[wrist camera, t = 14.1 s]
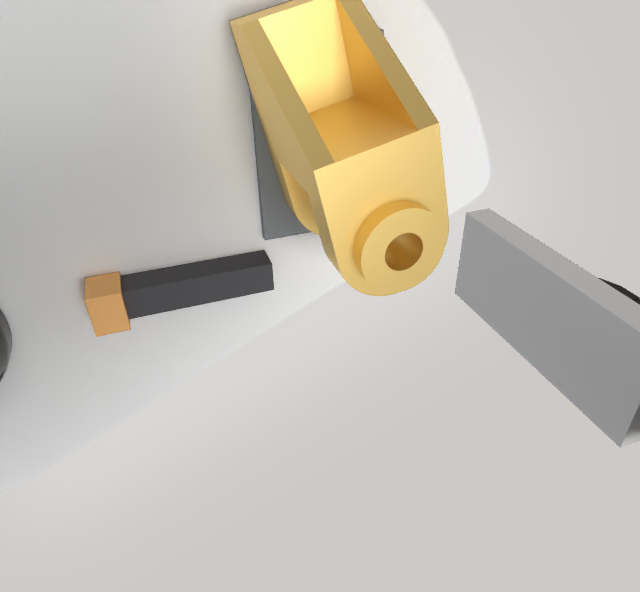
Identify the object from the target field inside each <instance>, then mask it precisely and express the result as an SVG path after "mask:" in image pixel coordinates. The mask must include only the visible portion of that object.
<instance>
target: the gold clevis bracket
mask: <svg viewBox="0 0 640 592" xmlns="http://www.w3.org/2000/svg"><path fill="white" fill-rule="evenodd" d="M229 22H230V25H231V28H232V32H233V35H234V38H235V41H236V45H237V48H238V51H239V54H240V57H241V61H242V64H243V67H244V70H245V74H246V77H247V80H248V83H249V86H250V90H251V93H252V96H253V99H254V103H255V106H256V109H257V112H258V115H259V119H260V122H261V125H262V128H263V131H264V135H265V138H266V141H267V144H268V148H269V151H270V154H271V157H272V160H273V164H274V167H275V170H276V173H277V177H278V180H279V183H280V186H281V189H282V193H283V196H284V199H285V201H286V203H287V205H288V206H289V208H290V209H291V210H292V212H293V213H294V214H295V215H296V217H297V218H298V219H299V221H300V222H301V223H302V224H303V225H304V226H305V227H306V228H307V229H308V230H310V231H311V232H313V233H315V234H318V235H320V237H321V241H322V245H323V248H324V251H325V253H326V255H327V257H328V258H329V260H330V261H331V262H332V264H333V265H334V266H335V267H336V269H337V270H338V271H339V273H340V274H341V275H342V277H343V278H344V279H345V281H346V282H347V283H348V284H349V285H350V286H351V287H353V288H354V289H355V290H357V291H359V292H361V293H364V294H367V295H372V296H386V295H392V294H395V293H399V292H401V291H405V290H408V289H410V288H412V287H414V286H416V285H418V284H419V283H420V282H422V281H423V280H425V279H426V278H427V277H428V276H429V275H430V274H431V273H432V272H433V270H434V269H435V268H436V266H437V265H438V263H439V261H440V259H441V257H442V254H443V251H444V248H445V245H446V242H447V238H448V232H449V218H448V208H447V198H446V188H445V178H444V168H443V158H442V148H441V138H440V128H439V122H438V120H437V119H436V117H435V116H434V114H433V113H432V111H431V109H430V108H429V106H428V105H427V103H426V101H425V100H424V98H423V97H422V95H421V94H420V92H419V90H418V89H417V87H416V86H415V84H414V83H413V81H412V79H411V78H410V76H409V75H408V73H407V72H406V70H405V68H404V67H403V65H402V64H401V62H400V61H399V59H398V57H397V56H396V54H395V53H394V51H393V50H392V48H391V46H390V45H389V43H388V42H387V40H386V39H385V37H384V35H383V34H382V32H381V31H380V29H379V28H378V26H377V24H376V23H375V21H374V20H373V18H372V16H371V15H370V13H369V12H368V10H367V9H366V7H365V5H364V4H363V2H362V1H361V0H292V1H289V2H286V3H283V4H280V5H277V6H274V7H271V8H268V9H265V10H262V11H259V12H256V13H253V14H250V15H247V16H244V17H241V18H238V19H235V20H232V21H229Z"/></svg>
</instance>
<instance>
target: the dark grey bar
mask: <svg viewBox="0 0 640 592" xmlns="http://www.w3.org/2000/svg"><path fill="white" fill-rule="evenodd" d="M270 290H274V283H273V270H272V263H271V261H270V259H269V258H268V256H267V254H266V252H265V251H264V250H261V251H256V252H250V253H245V254H239V255H234V256H228V257H223V258H217V259H212V260H206V261H201V262H195V263H190V264H184V265H179V266H173V267H168V268H162V269H157V270H151V271H146V272H140V273H135V274H129V275H124V276H120V273H119V272H114V273H108V274H103V275H97V276H92V277H86V278H85V296H84V301H85V304H86V307H87V310H88V313H89V316H90V319H91V322H92V325H93V328H94V332H95V335H96V337H97V336H102V335H107V334H112V333H116V332H121V331H126V330H131V328H130V319H132V318H137V317H142V316H147V315H152V314H157V313H162V312H167V311H172V310H176V309H181V308H186V307H191V306H196V305H201V304H206V303H211V302H216V301H221V300H226V299H230V298H235V297H240V296H245V295H250V294H255V293H260V292H265V291H270Z"/></svg>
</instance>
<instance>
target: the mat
mask: <svg viewBox="0 0 640 592" xmlns="http://www.w3.org/2000/svg"><path fill="white" fill-rule="evenodd" d="M380 31H381V32H382V34H383V35H384V30H383V29H380ZM250 96H251V108H252V119H253V130H254V141H255V152H256V164H257V175H258V186H259V197H260V209H261V220H262V231H263V238H264V239H265V240H269V239H274V238H280V237H286V236H291V235H297V234H303V233H308V232H311V231H310V230H308V229H307V228H306V227H305V226H304V225H303V224H302V223H301V222H300V221H299V219H298V218H297V217H296V215H295V214H294V213H293V212H292V210H291V209H290V208H289V206H288V205H287V203H286V201H285V199H284V196H283V193H282V189H281V186H280V183H279V180H278V177H277V173H276V170H275V167H274V164H273V160H272V157H271V154H270V151H269V148H268V144H267V141H266V138H265V135H264V131H263V128H262V125H261V122H260V119H259V115H258V112H257V109H256V106H255V103H254V99H253V96H252V93H251V90H250Z"/></svg>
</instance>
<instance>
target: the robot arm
mask: <svg viewBox="0 0 640 592" xmlns="http://www.w3.org/2000/svg"><path fill="white" fill-rule="evenodd" d="M455 293H456V294H457V295H458V296H459V297H460V298H461V299H462V300H463V301H464V302H465V303H466V304H467V305H468V306H469V307H471V308H472V309H473V310H474V311H475V312H476V313H477V314H478V315H479V316H480V317H481V318H482V319H483V320H484V321H485V322H487V323H488V324H489V325H490V326H491V327H492V328H493V329H494V330H495V331H496V332H497V333H498V334H499V335H500V336H502V337H503V338H504V339H505V340H506V341H507V342H508V343H509V344H510V345H511V346H512V347H513V348H514V349H516V350H517V352H519V353H520V354H521V355H522V356H523V357H524V358H525V359H526V360H527V361H528V362H529V363H531V365H532V366H534V367H535V368H536V369H537V370H538V371H539V372H540V373H541V374H542V375H543V376H544V377H545V378H546V379H547V380H548V381H550V382H551V383H552V384H553V385H554V386H555V387H556V388H557V389H558V390H559V391H560V392H561V393H562V394H563V395H565V396H566V397H567V398H568V399H569V400H570V401H571V402H572V403H573V404H574V405H575V406H576V407H577V408H579V410H581V411H582V412H583V413H584V414H585V415H586V416H587V417H588V418H589V419H590V420H591V421H592V422H593V423H594V424H595V425H597V426H598V427H599V428H600V429H601V430H602V431H603V432H604V433H605V434H606V435H607V436H608V437H609V438H610V439H611V440H613V441H614V442H615V443H616V444H617V445H618V446H619V447H623V446H626V445H629V444H632V443H635V442H637V441H640V298H639V297H638V296H636V295H634V294H633V293H631V292H630V291H628V290H626V289H625V288H623V287H621V286H619V285H616V284H614V283H611V282H609V281H606V280H603V279H600V278H597V277H595V276H594V275H592V274H591V273H589V272H588V271H586V270H584V269H583V268H581V267H580V266H578V265H577V264H575V263H573V262H572V261H570V260H569V259H567V258H565V257H564V256H563V255H561V254H559V253H558V252H556V251H554V250H553V249H552V248H550V247H548V246H547V245H545V244H543V243H542V242H541V241H539V240H537V239H536V238H534V237H533V236H531V235H529V234H528V233H526V232H525V231H523V230H522V229H520V228H519V227H517V226H515V225H514V224H512V223H511V222H509V221H507V220H506V219H504V218H503V217H501V216H500V215H498V214H497V213H495V212H493V211H492V210H490V209H484V210H479V211H474V212H468V213H466V219H465V226H464V233H463V240H462V247H461V253H460V260H459V267H458V274H457V281H456V288H455ZM11 346H12V339H11V332H10V328H9V325H8V323H7V321H6V319H5V317H4V315H3V313H2V312H1V310H0V382H1V380H2V378H3V376H4V374H5V372H6V369H7V366H8V362H9V357H10V353H11Z"/></svg>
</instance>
